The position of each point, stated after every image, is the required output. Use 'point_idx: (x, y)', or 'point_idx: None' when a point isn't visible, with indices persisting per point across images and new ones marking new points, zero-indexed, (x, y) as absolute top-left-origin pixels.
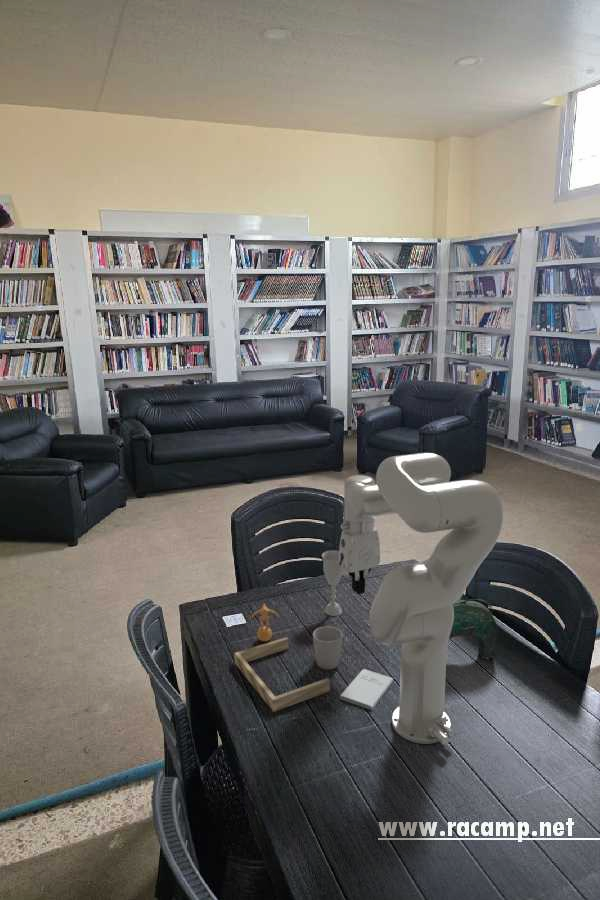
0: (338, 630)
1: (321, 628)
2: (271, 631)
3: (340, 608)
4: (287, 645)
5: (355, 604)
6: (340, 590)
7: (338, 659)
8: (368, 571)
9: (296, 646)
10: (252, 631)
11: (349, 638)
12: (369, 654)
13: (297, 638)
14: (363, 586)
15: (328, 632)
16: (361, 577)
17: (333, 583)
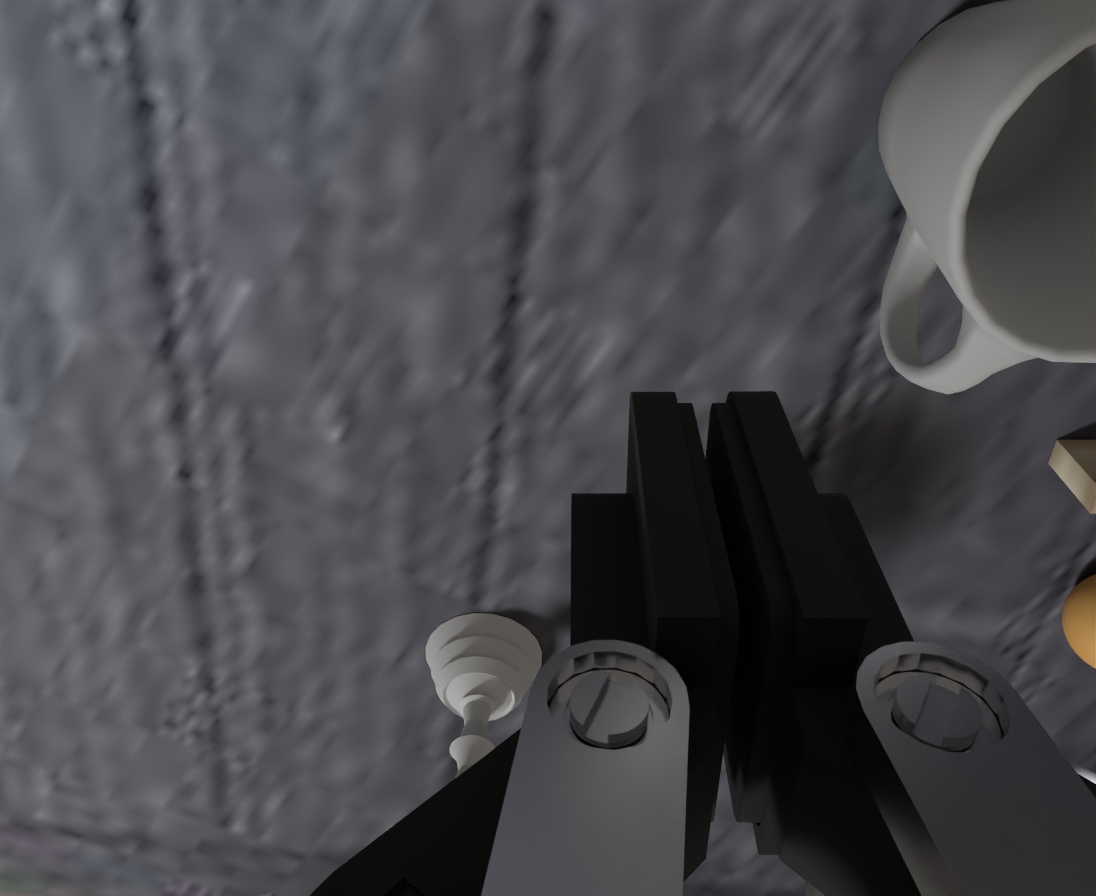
0: (964, 213)
1: (1076, 345)
2: (1090, 620)
3: (437, 655)
4: (1079, 456)
5: (299, 659)
6: (314, 801)
7: (979, 15)
8: (435, 838)
9: (985, 439)
10: (1072, 691)
11: (577, 344)
12: (569, 47)
13: (904, 515)
14: (680, 480)
15: (989, 292)
16: (713, 712)
17: None
